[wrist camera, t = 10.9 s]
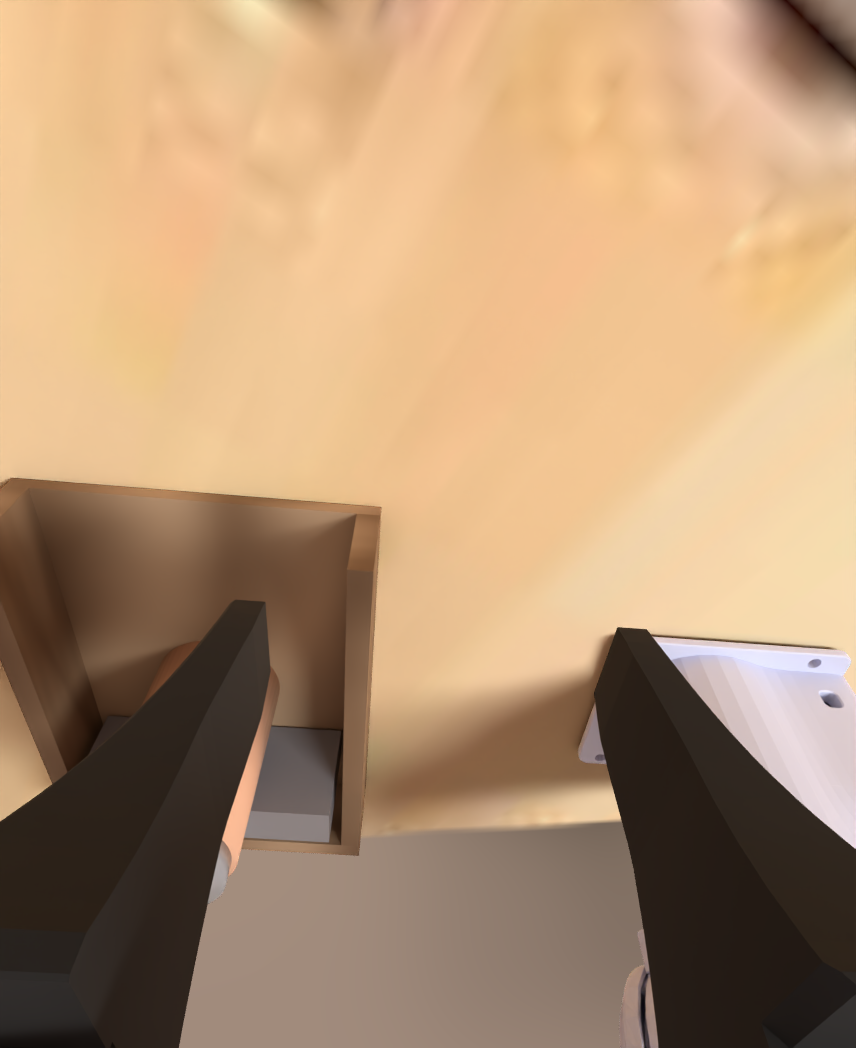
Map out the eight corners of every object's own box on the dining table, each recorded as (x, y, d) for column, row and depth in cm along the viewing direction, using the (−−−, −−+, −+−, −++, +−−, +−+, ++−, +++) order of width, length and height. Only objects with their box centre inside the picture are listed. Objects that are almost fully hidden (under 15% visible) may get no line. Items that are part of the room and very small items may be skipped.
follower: (340, 730, 29) (324, 845, 25) (340, 758, 30) (324, 871, 26) (108, 715, 29) (51, 829, 25) (116, 744, 30) (63, 857, 26)
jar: (279, 646, 26) (228, 841, 20) (280, 725, 29) (235, 917, 23) (152, 634, 26) (57, 828, 19) (165, 715, 29) (86, 907, 22)
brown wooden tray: (381, 507, 23) (373, 571, 20) (365, 785, 33) (358, 855, 30) (11, 477, 22) (-51, 539, 20) (108, 770, 32) (76, 839, 29)
